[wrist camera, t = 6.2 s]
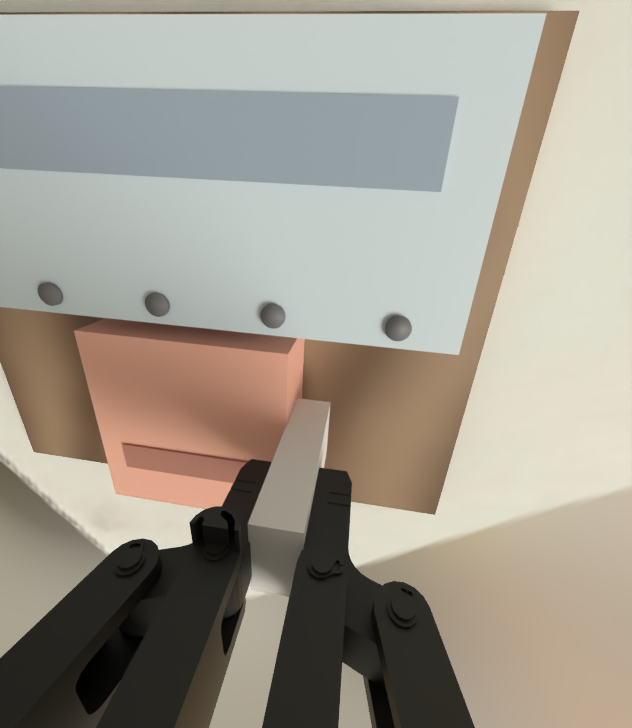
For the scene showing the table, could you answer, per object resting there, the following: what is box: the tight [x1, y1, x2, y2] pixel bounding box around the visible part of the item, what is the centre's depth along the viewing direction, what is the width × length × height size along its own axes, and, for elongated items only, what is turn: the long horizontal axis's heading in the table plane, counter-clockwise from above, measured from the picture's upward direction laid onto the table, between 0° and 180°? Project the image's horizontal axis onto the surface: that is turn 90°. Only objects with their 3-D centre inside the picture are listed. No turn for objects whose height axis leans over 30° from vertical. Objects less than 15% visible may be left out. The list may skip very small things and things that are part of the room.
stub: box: [74, 318, 305, 509], centre depth 15 cm, size 8×8×4 cm
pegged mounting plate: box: [0, 13, 547, 355], centre depth 11 cm, size 20×8×4 cm, turn 87°
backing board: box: [0, 11, 579, 515], centre depth 15 cm, size 24×20×1 cm
